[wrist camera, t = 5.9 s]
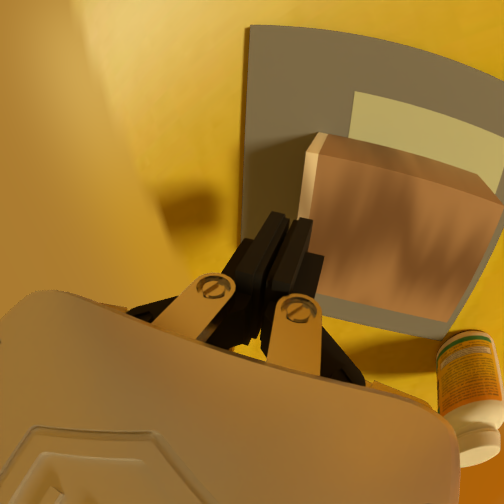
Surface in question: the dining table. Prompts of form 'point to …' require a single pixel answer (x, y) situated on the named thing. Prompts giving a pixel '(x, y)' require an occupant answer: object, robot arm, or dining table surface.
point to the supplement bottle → (471, 394)
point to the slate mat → (363, 128)
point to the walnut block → (394, 225)
